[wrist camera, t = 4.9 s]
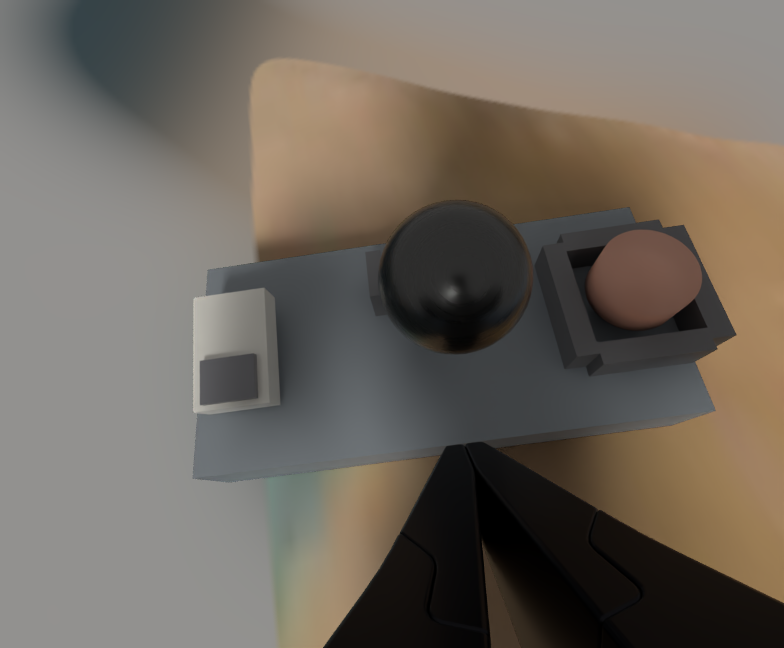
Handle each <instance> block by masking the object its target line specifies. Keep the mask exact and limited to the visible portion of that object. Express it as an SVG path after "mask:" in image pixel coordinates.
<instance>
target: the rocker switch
mask: <svg viewBox="0 0 784 648" xmlns="http://www.w3.org/2000/svg"><path fill="white" fill-rule="evenodd" d="M193 308H194V311H193V312H194V314H193V325H194V326H193V332H194V333H193V337H194V338H193V354H194V355H193V413H199V414H208V415H211V414H218V413H225V412H233V411H240V410H248V409H255V408H262V407H270V406H277V405H280V386H279V367H278V348H277V329H276V310H275V297H274V296H273V295H271V294H270V293H269V292H268V291H267V290H266V289H265V288H258V289H251V290H244V291H238V292H231V293H224V294H217V295H210V296H204V297H196V298H194V306H193Z"/></svg>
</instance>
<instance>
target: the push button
mask: <svg viewBox="0 0 784 648" xmlns="http://www.w3.org/2000/svg"><path fill="white" fill-rule="evenodd" d="M701 284H702V272H701V268H700V265H699V262H698V261H697V259H696V257H695V256H694V254H693V253H692V252H691V251H690V250H689V249H688V247H686V246H685V245H684V244H683V243H681V242H680V241H679V240H677V239H675V238H673V237H672V236H669V235H667V234H664V233H661V232H658V231H653V230H632V231H628V232H624V233H622V234H620V235H618V236H616V237H614V238H613V239H612V240H611V241H609V242H608V244H607V245H606V246H605V248H604V249H603V251H602V252H601V254H600V255H599V257H598V258H597V260H596V261H595V263H594V264H593V266H592V267H591V269H590V270H589V272H588V274H587V276H586V280H585V294H586V297H587V300H588V302H589V304H590V306H591V307H592V309H593V310H594V311H595V312H596V313H597V314H598V315H599V316H600V317H601V318H602V319H603V320H605V321H606V322H608V323H610V324H612V325H614V326H616V327H619V328H621V329H625V330H631V331H646V330H651V329H654V328H656V327H658V326H660V325H662V324H663V323H665V322H666V321H668V320H669V319H670V318H671V317H673V316H674V315H675V314H676V313H678V312H679V311H680V310H681V309H683V308H684V307H685V306H687V305H688V304H689V303H690V302H691V301H692V300H693V299H694V298H695V297H696V296H697V294H698V293H699V291H700V288H701Z"/></svg>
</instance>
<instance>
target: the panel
mask: <svg viewBox="0 0 784 648" xmlns="http://www.w3.org/2000/svg"><path fill="white" fill-rule="evenodd" d="M513 225H514V226H515V227H516V228H517V229H518V231H519V232H520V234H521V235H522V237H523V238H524V241H525V243H526V245H527V247H528V249H529V252H530V256H531V260H532V265H533V288H532V293H531V297H530V300H529V303H528V306H527V308H526V310H525V312H524V314H523V316H522V317H521V319H520V320H519V322H518V323H517V325H516V326H515V327H514V328H513V329H512V330H511V331H510V332H509V333H508V334H507V335H506V336H505V337H503V338H502V339H501V340H499V341H498V342H496V343H495V344H493V345H491V346H489V347H487V348H485V349H482V350H479V351H476V352H472V353H468V354H459V355H450V354H441V353H436V352H432V351H429V350H426V349H424V348H422V347H420V346H418V345H416V344H414V343H413V342H411V341H410V340H408V339H407V338H406V337H405V336H404V335H403V334H401V333H400V332H399V330H398V329H397V328H396V327H395V326H394V325H393V323H392V322H391V320H390V319H389V317H388V315H387V313H386V311H385V310H384V307H383V304H382V301H381V298H380V293H379V287H378V269H379V264H380V259H381V256H382V253H383V250H384V247H385V245H386V243H385V244H378V245H371V246H365V247H358V248H351V249H345V250H338V251H331V252H324V253H318V254H311V255H304V256H297V257H291V258H284V259H277V260H270V261H264V262H257V263H250V264H244V265H237V266H231V267H223V268H217V269H210V270H208V274H207V290H206V296H210V295H217V294H224V293H231V292H238V291H244V290H251V289H258V288H265V289H266V290H267V291H268V292H269V293H270V294H271V295H273V296H274V297H275V310H276V329H277V348H278V367H279V386H280V405H277V406H270V407H262V408H255V409H248V410H240V411H233V412H225V413H218V414H211V415H208V414H199V413H197V427H196V440H195V454H194V467H193V479H202V480H211V481H221V482H236V481H243V480H251V479H259V478H267V477H274V476H282V475H290V474H298V473H306V472H313V471H321V470H329V469H337V468H344V467H352V466H360V465H368V464H375V463H383V462H391V461H399V460H407V459H414V458H422V457H430V456H438V455H441V454H442V452H443V450H444V448H445V447H446V446H448V445H456V444H463V445H464V446H465V444H467V443H472V442H480V441H482V442H485V443H486V444H488V445H490V446H491V447H493V448H500V447H507V446H515V445H523V444H531V443H539V442H546V441H554V440H562V439H570V438H577V437H585V436H593V435H601V434H608V433H616V432H624V431H632V430H640V429H647V428H655V427H663V426H671V425H674V424H677V423H680V422H683V421H686V420H689V419H692V418H695V417H698V416H701V415H704V414H707V413H710V412H713V411H716V410H715V408H714V405H713V403H712V401H711V398H710V396H709V394H708V391H707V389H706V387H705V384H704V382H703V379H702V377H701V375H700V372H699V370H698V368H697V365H696V363H695V361H697V360H699V359H700V358H702V357H704V356H706V355H708V354H710V353H711V352H713V351H715V350H717V347H716V346H718V345H719V344H721V343H723V342H725V341H727V340H728V339H730V338H732V337H734V336H736V333H735V331H734V329H733V327H732V325H731V322H730V320H729V318H728V316H727V314H726V312H725V310H724V308H723V306H722V304H721V302H720V300H719V297H718V295H717V293H716V291H715V289H714V287H713V285H712V283H711V281H710V279H709V277H708V274H707V272H706V270H705V268H704V266H703V264H702V262H701V260H700V258H699V256H698V254H697V252H696V249H695V247H694V245H693V243H692V241H691V239H690V237H689V235H688V233H687V231H686V229H685V226H684V225H680V226H673V227H666V228H662V225H661V223H660V221H659V220H653V221H646V222H639V223H636V222H635V219H634V217H633V215H632V212H631V210H630V207H627V208H621V209H614V210H607V211H600V212H594V213H587V214H580V215H573V216H567V217H560V218H553V219H546V220H540V221H533V222H526V223H520V224H513ZM632 230H653V231H658V232H661V233H664V234H667V235H669V236H672V237H673V238H675V239H677V240H679V241H680V242H681V243H683V244H684V245H685V246H686V247H688V249H689V250H690V251H691V252H692V253H693V254H694V256H695V257H696V259H697V261H698V262H699V265H700V268H701V272H702V284H701V288H700V291H699V293H698V294H697V296H696V297H695V298H694V299H693V300H692V301H691V302H690V303H689V304H688V305H687V306H685V307H684V308H683V309H681V310H680V311H679V312H678V313H676V314H675V315H674V316H673V317H671V318H670V319H669V320H668V321H666V322H665V323H663V324H662V325H660V326H658V327H656V328H654V329H651V330H646V331H631V330H625V329H621V328H619V327H616V326H614V325H612V324H610V323H608V322H606V321H605V320H603V319H602V318H601V317H600V316H599V315H598V314H597V313H596V312H595V311H594V310H593V309H592V307H591V306H590V304H589V302H588V300H587V297H586V294H585V280H586V276H587V274H588V272H589V270H590V269H591V267H592V266H593V264H594V263H595V261H596V260H597V258H598V257H599V255H600V254H601V252H602V251H603V249H604V248H605V246H606V245H607V244H608V242H609V241H611V240H612V239H613V238H614V237H616V236H618V235H620V234H622V233H624V232H628V231H632Z"/></svg>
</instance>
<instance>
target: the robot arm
mask: <svg viewBox="0 0 784 648" xmlns="http://www.w3.org/2000/svg"><path fill="white" fill-rule="evenodd" d="M482 543H483V546H484V549H485V552H486V555H487V557H488V560H489V562H490V565H491V568H492V570H493V573H494V576H495V578H496V581H497V584H498V586H499V589H500V592H501V594H502V597H503V600H504V602H505V605H506V608H507V610H508V613H509V616H510V618H511V621H512V624H513V626H514V629H515V632H516V634H517V637H518V640H519V642H520V645H521V648H784V603H782V602H780V601H778V600H776V599H774V598H772V597H770V596H768V595H766V594H764V593H762V592H760V591H758V590H755V589H753V588H751V587H749V586H747V585H745V584H743V583H741V582H739V581H737V580H735V579H733V578H731V577H729V576H727V575H724V574H722V573H720V572H718V571H716V570H714V569H712V568H710V567H708V566H706V565H704V564H702V563H700V562H698V561H696V560H694V559H691V558H689V557H687V556H685V555H683V554H681V553H679V552H677V551H675V550H673V549H671V548H669V547H667V546H665V545H663V544H661V543H659V542H657V541H655V540H653V539H652V538H650V537H648V536H646V535H644V534H642V533H640V532H638V531H637V530H635V529H633V528H631V527H629V526H628V525H626V524H624V523H622V522H620V521H619V520H617V519H615V518H613V517H612V516H610V515H608V514H607V513H605V512H603V511H601V510H599V511H598V510H597V508H595V507H593V506H592V505H590V504H588V503H587V502H585V501H583V500H581V499H580V498H578V497H576V496H575V495H573V494H571V493H570V492H568V491H566V490H564V489H563V488H561V487H559V486H558V485H556V484H554V483H553V482H551V481H549V480H547V479H546V478H544V477H542V476H541V475H539V474H537V473H536V472H534V471H532V470H530V469H529V468H527V467H525V466H524V465H522V464H520V463H519V462H517V461H515V460H513V459H512V458H510V457H508V456H507V455H505V454H503V453H502V452H500V451H498V450H496V449H495V448H493V447H491V446H490V445H488V444H486V443H485V442H482V441H480V442H472V443H467V444H465V446H464V445H463V444H456V445H448V446H446V447H445V448H444V450H443V452H442V454H441V456H440V458H439V460H438V462H437V464H436V465H435V467H434V469H433V471H432V473H431V475H430V477H429V479H428V481H427V483H426V484H425V486H424V488H423V490H422V492H421V494H420V496H419V498H418V500H417V502H416V504H415V505H414V507H413V509H412V511H411V513H410V515H409V517H408V519H407V521H406V523H405V524H404V526H403V528H402V530H401V532H400V534H399V535H398V537H397V538H396V540H395V542H394V544H393V546H392V548H391V550H390V552H389V553H388V555H387V557H386V558H385V560H384V562H383V564H382V565H381V567H380V569H379V570H378V572H377V573H376V574H375V576H374V577H373V579H372V580H371V582H370V583H369V585H368V586H367V588H366V589H365V591H364V592H363V593H362V595H361V596H360V598H359V599H358V600H357V602H356V603H355V604H354V606H353V607H352V609H351V610H350V611H349V613H348V614H347V615H346V617H345V618H344V620H343V621H342V622H341V624H340V625H339V626H338V628H337V629H336V631H335V632H334V633H333V635H332V636H331V637H330V639H329V640H328V642H327V643H326V644H325V646H324V647H323V648H491V639H490V628H489V617H488V606H487V594H486V583H485V572H484V561H483V550H482Z"/></svg>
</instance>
